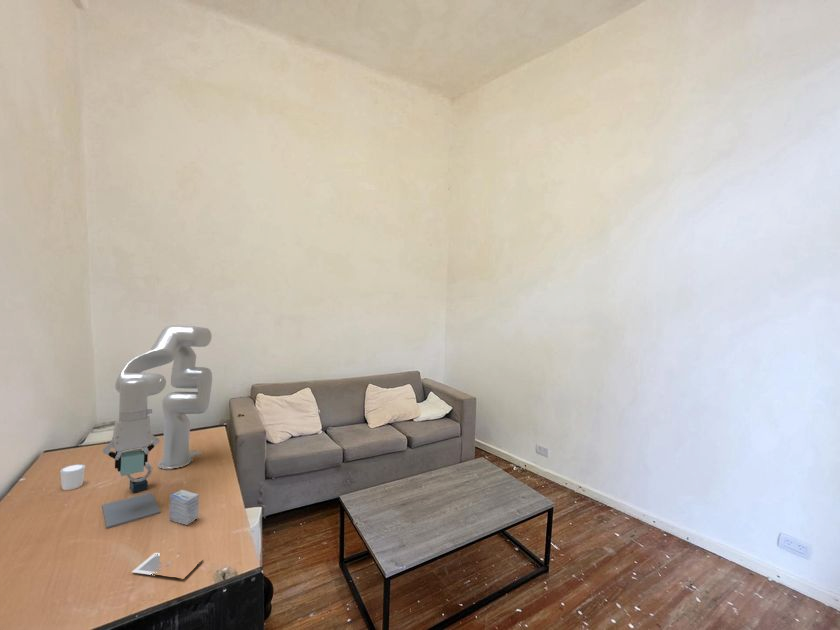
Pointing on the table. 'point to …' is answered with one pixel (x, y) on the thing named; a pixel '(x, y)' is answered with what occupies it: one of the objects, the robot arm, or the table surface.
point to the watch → (140, 481)
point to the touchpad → (150, 565)
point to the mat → (129, 509)
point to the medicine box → (184, 506)
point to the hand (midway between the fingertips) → (131, 466)
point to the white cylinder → (72, 476)
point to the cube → (132, 462)
